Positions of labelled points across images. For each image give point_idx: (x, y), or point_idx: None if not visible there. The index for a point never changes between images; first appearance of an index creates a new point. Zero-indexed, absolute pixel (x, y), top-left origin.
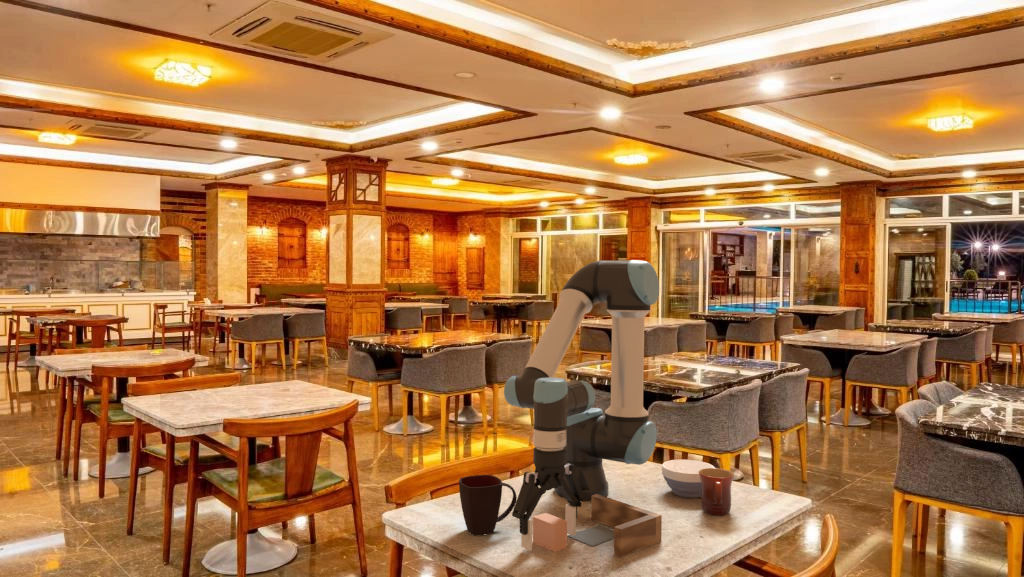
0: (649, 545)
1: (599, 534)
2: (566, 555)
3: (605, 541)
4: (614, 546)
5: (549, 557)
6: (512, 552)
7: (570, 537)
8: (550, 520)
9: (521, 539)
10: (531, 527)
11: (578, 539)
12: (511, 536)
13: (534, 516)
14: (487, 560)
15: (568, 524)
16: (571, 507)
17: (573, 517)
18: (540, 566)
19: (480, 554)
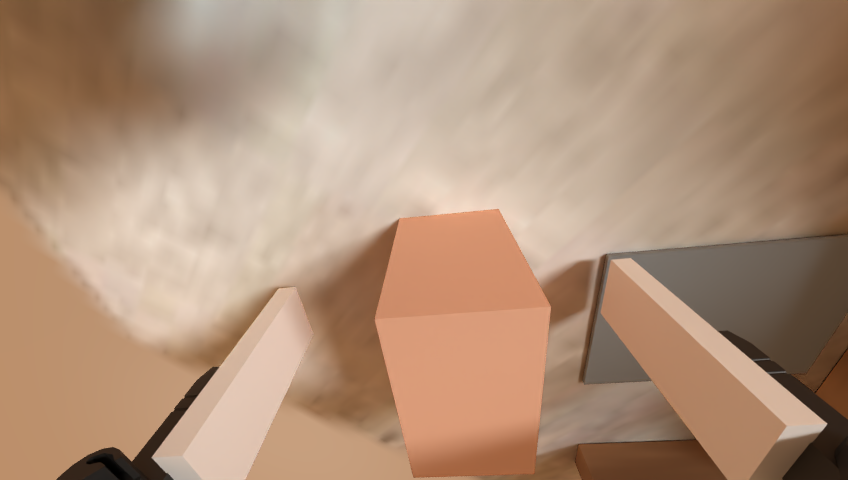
0: None
1: (731, 326)
2: None
3: None
4: (591, 476)
5: (369, 368)
6: (243, 262)
7: (603, 276)
8: (446, 429)
9: (260, 313)
10: (253, 447)
11: (602, 318)
12: (329, 55)
13: (390, 321)
14: (100, 271)
15: (639, 317)
16: (743, 472)
17: (672, 402)
18: (299, 398)
19: (67, 197)
